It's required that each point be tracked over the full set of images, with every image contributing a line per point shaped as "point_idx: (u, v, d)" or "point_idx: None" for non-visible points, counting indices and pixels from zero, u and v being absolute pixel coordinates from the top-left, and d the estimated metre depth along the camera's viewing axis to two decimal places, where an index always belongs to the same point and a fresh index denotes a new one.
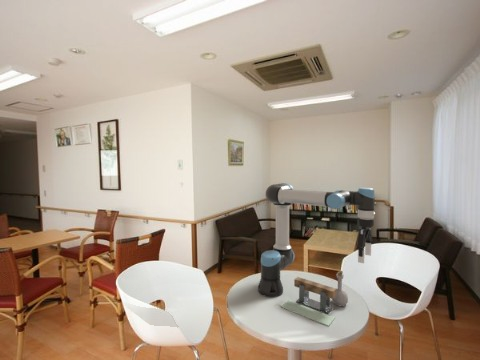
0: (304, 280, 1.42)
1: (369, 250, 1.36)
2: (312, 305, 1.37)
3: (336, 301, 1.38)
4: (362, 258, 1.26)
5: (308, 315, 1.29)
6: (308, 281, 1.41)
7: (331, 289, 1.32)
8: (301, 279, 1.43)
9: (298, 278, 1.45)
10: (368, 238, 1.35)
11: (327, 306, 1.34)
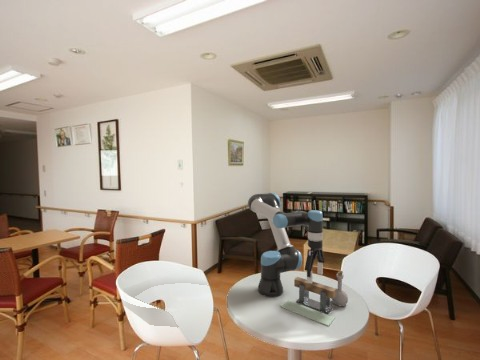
0: (304, 280, 1.42)
1: (321, 269, 1.42)
2: (312, 305, 1.37)
3: (336, 301, 1.38)
4: (310, 278, 1.32)
5: (308, 315, 1.29)
6: None
7: (331, 289, 1.32)
8: (301, 279, 1.43)
9: (298, 278, 1.45)
10: (319, 258, 1.41)
11: (327, 306, 1.34)
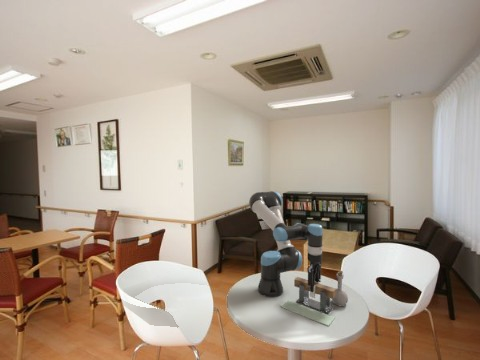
0: (304, 280, 1.42)
1: None
2: (312, 305, 1.37)
3: (336, 301, 1.38)
4: (313, 293, 1.36)
5: (308, 315, 1.29)
6: None
7: (331, 289, 1.32)
8: (301, 279, 1.43)
9: (298, 278, 1.45)
10: (316, 275, 1.39)
11: (327, 306, 1.34)
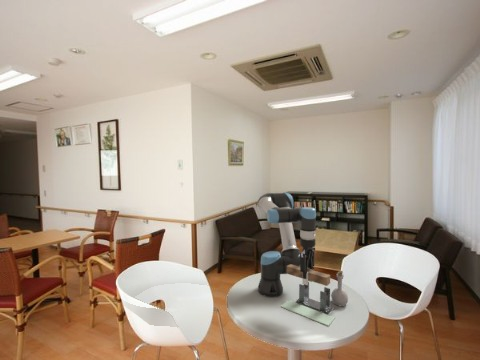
0: (296, 267, 1.35)
1: None
2: (312, 305, 1.37)
3: (336, 301, 1.38)
4: (306, 280, 1.28)
5: (308, 315, 1.29)
6: None
7: (325, 276, 1.24)
8: (294, 266, 1.35)
9: (291, 265, 1.37)
10: (310, 261, 1.32)
11: (327, 306, 1.34)
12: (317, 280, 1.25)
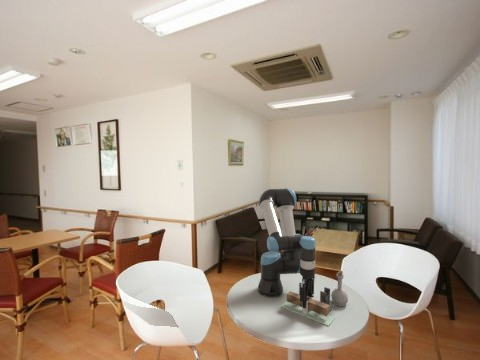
0: (296, 295, 1.36)
1: None
2: None
3: (336, 301, 1.38)
4: (305, 309, 1.29)
5: (308, 315, 1.29)
6: None
7: (324, 306, 1.25)
8: (294, 294, 1.36)
9: (290, 293, 1.38)
10: (309, 290, 1.33)
11: None
12: (316, 310, 1.26)
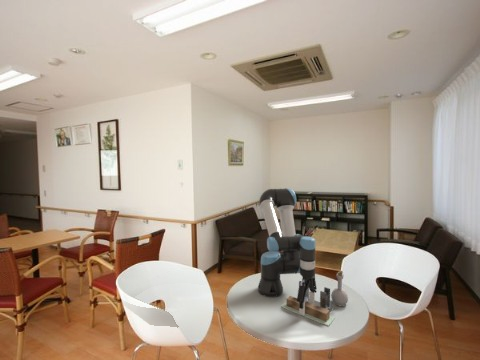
0: (296, 299, 1.36)
1: (312, 299, 1.35)
2: None
3: (336, 301, 1.38)
4: (302, 310, 1.27)
5: (308, 315, 1.29)
6: None
7: (324, 311, 1.25)
8: (294, 299, 1.36)
9: (290, 297, 1.38)
10: (311, 287, 1.34)
11: (327, 306, 1.34)
12: (316, 315, 1.26)
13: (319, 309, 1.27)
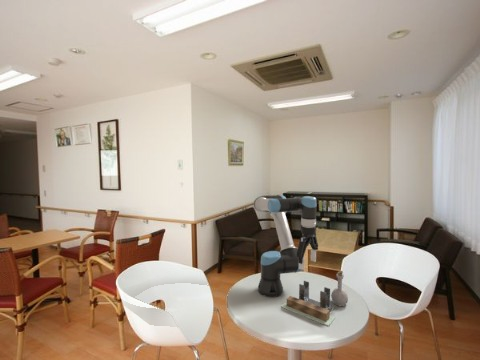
0: (296, 299, 1.36)
1: (314, 256, 1.40)
2: None
3: (336, 301, 1.38)
4: (302, 265, 1.30)
5: (308, 315, 1.29)
6: (301, 301, 1.34)
7: (324, 311, 1.25)
8: (294, 299, 1.36)
9: (290, 297, 1.38)
10: (312, 245, 1.38)
11: (327, 306, 1.34)
12: (316, 315, 1.26)
13: (319, 309, 1.27)
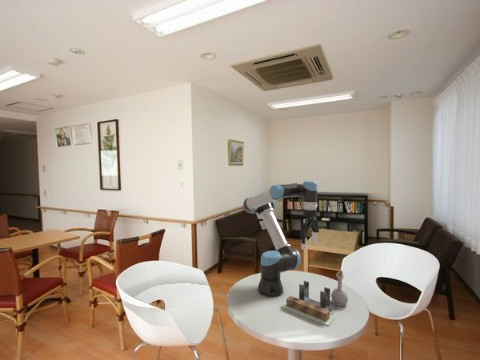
0: (296, 299, 1.36)
1: (315, 239, 1.48)
2: None
3: (336, 301, 1.38)
4: (304, 245, 1.37)
5: (308, 315, 1.29)
6: (301, 301, 1.34)
7: (324, 311, 1.25)
8: (294, 299, 1.36)
9: (290, 297, 1.38)
10: (314, 227, 1.46)
11: (327, 306, 1.34)
12: (316, 315, 1.26)
13: (319, 309, 1.27)
